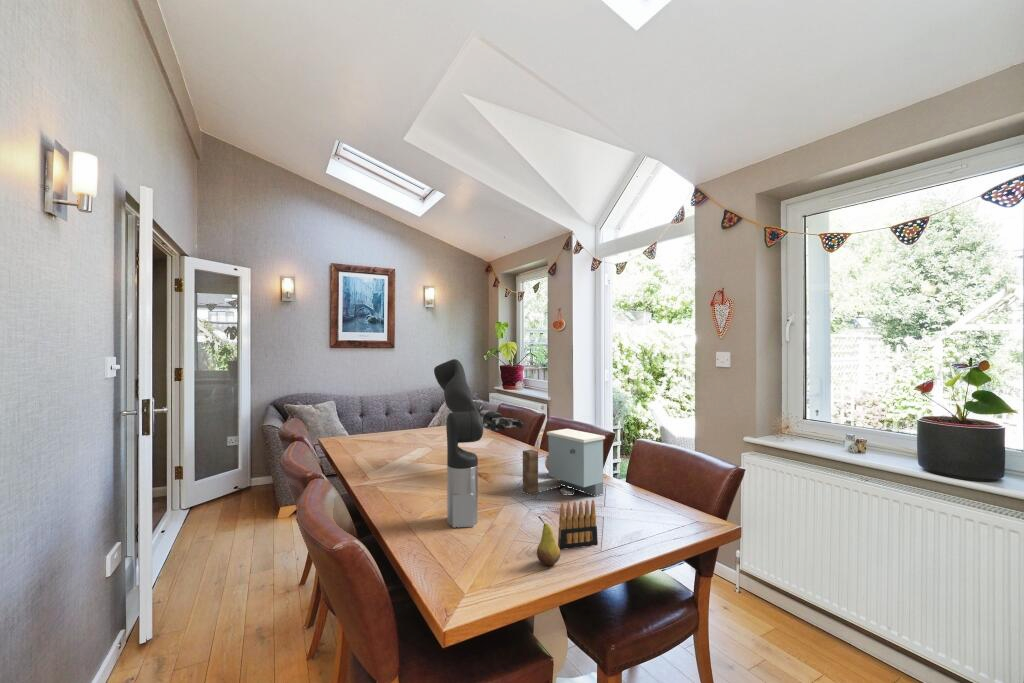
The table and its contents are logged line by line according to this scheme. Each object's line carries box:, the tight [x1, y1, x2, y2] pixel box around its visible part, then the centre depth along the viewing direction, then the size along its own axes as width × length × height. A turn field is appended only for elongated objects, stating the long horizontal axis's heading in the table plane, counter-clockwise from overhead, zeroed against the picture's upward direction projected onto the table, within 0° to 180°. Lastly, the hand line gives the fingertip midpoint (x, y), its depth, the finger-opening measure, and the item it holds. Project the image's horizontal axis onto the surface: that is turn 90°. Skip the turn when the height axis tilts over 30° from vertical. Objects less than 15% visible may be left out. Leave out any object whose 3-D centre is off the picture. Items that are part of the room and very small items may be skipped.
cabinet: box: [546, 428, 606, 497], centre depth 169 cm, size 19×12×21 cm, turn 38°
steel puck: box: [560, 487, 575, 495], centre depth 167 cm, size 5×5×2 cm
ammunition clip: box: [557, 499, 599, 550], centre depth 123 cm, size 11×2×12 cm, turn 104°
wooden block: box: [522, 449, 562, 495], centre depth 171 cm, size 4×16×15 cm, turn 128°
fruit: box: [536, 515, 561, 566], centre depth 113 cm, size 6×6×12 cm
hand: (513, 426), depth 177 cm, fingers open, 8 cm apart
